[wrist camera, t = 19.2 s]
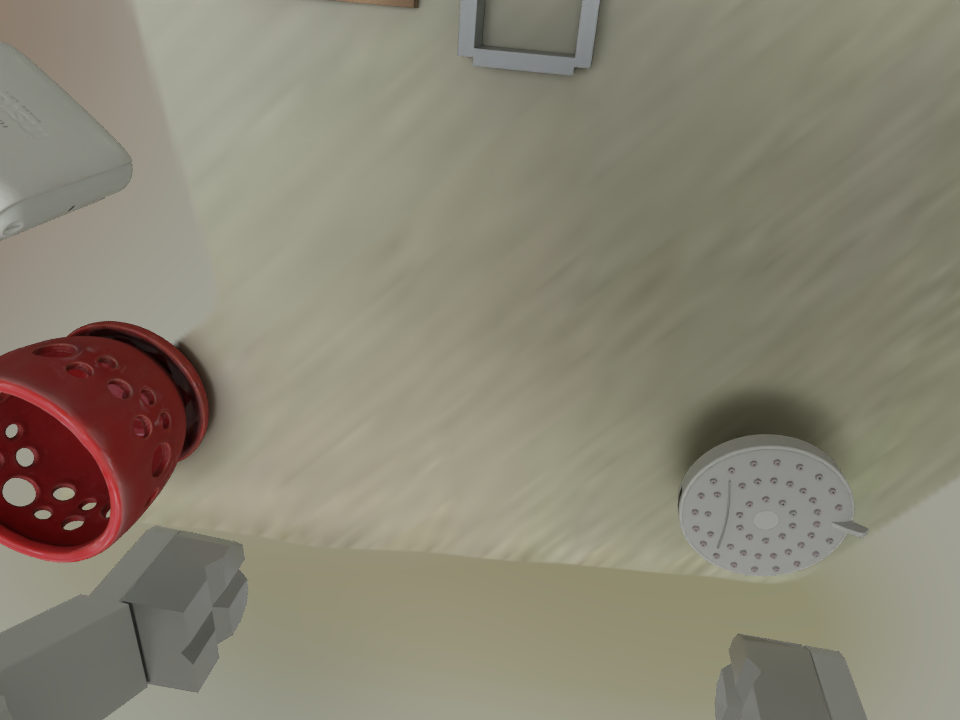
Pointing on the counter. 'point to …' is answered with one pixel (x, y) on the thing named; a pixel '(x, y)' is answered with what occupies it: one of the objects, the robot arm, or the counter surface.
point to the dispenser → (520, 58)
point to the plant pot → (94, 434)
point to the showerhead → (765, 505)
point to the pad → (388, 2)
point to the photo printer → (49, 149)
